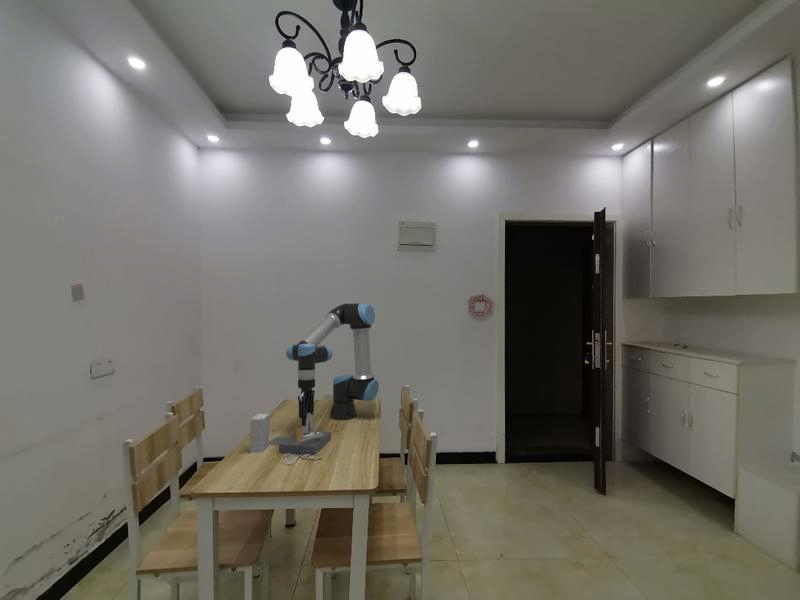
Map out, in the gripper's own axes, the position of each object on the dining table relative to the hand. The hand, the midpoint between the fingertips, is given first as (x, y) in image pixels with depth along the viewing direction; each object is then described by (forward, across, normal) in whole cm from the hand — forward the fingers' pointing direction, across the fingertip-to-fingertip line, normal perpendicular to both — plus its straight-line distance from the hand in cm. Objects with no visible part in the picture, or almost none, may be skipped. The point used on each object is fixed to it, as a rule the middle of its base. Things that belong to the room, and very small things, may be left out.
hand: (306, 431), depth 177 cm
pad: (+7, -4, -14) cm, 16 cm away
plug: (+6, 0, 0) cm, 6 cm away
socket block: (+7, 0, 0) cm, 7 cm away
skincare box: (+7, +7, -18) cm, 21 cm away
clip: (+1, +5, +3) cm, 6 cm away
